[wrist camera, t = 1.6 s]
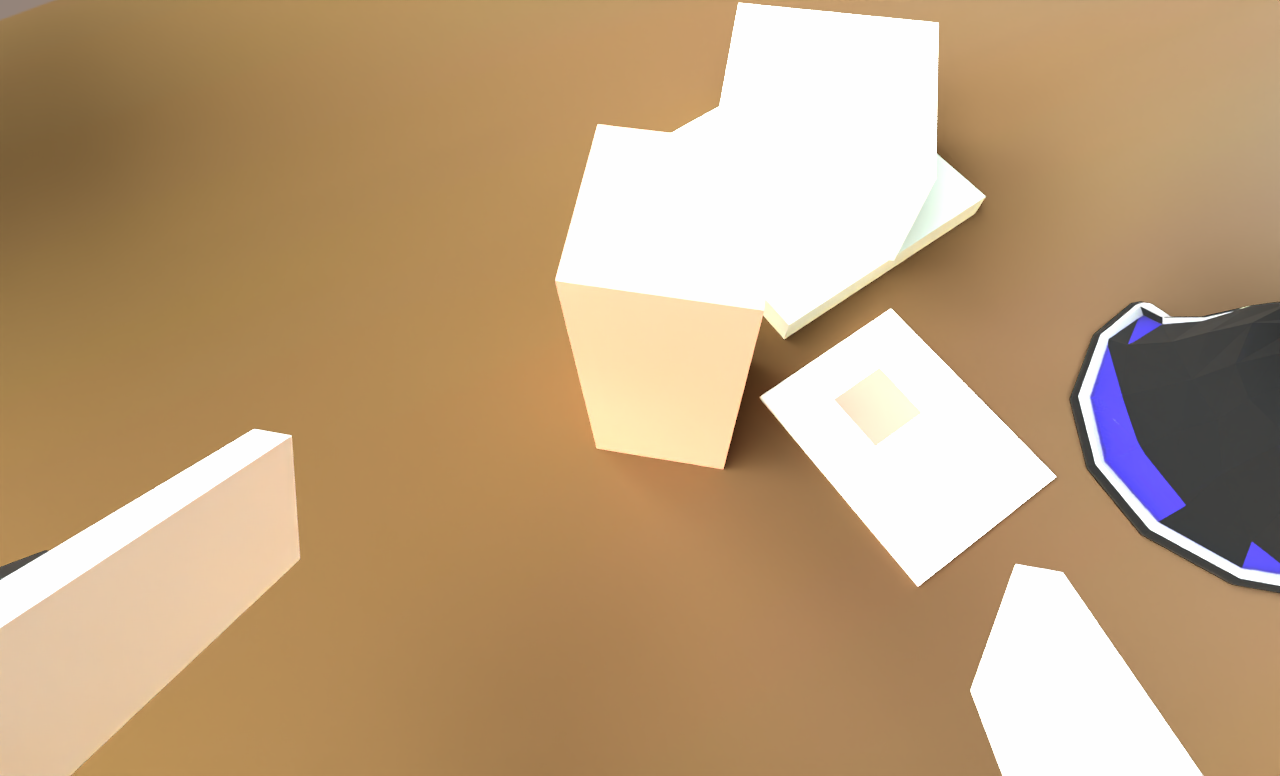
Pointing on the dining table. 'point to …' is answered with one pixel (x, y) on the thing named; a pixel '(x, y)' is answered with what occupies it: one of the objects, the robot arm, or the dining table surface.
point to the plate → (825, 278)
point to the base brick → (837, 121)
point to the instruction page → (907, 444)
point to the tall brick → (668, 287)
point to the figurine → (1190, 433)
